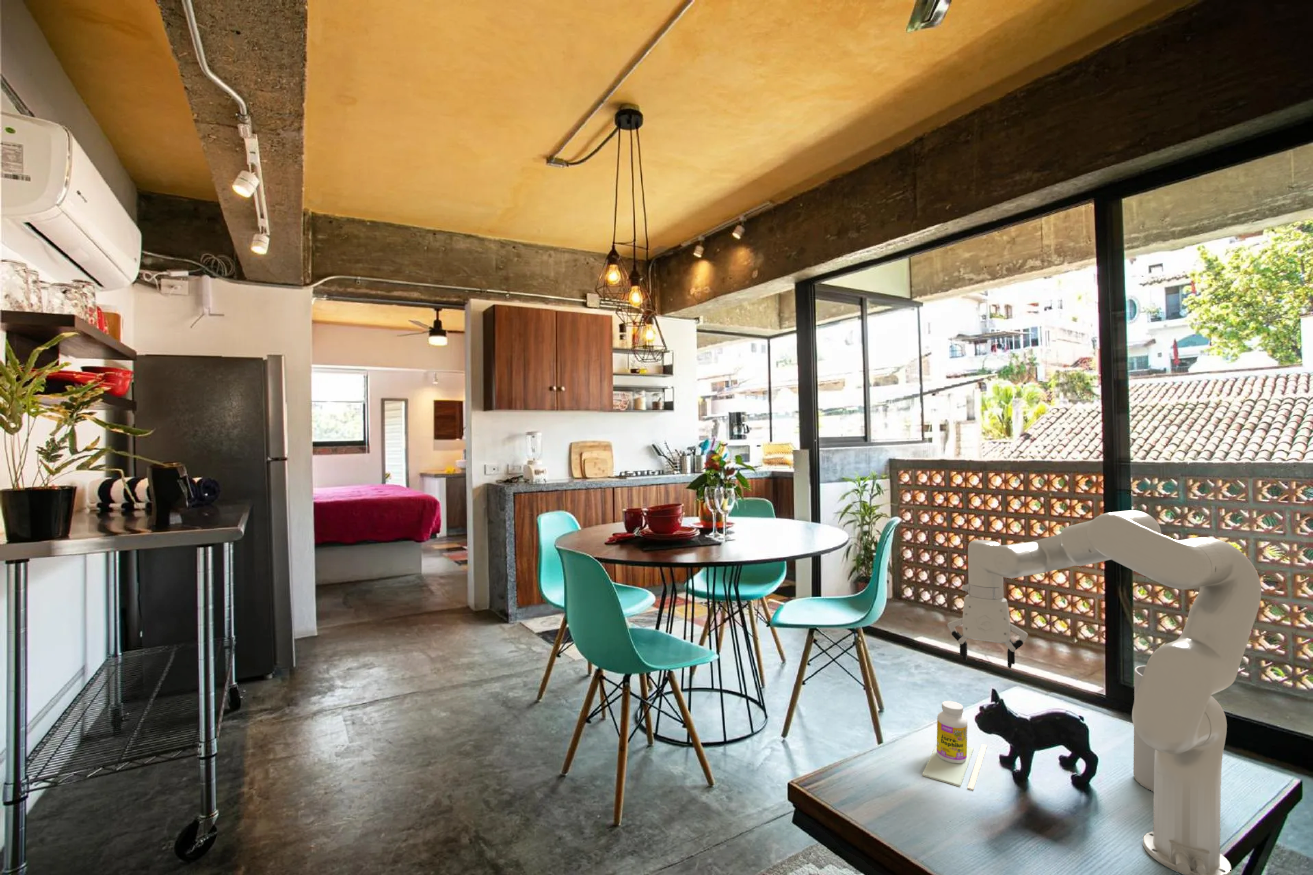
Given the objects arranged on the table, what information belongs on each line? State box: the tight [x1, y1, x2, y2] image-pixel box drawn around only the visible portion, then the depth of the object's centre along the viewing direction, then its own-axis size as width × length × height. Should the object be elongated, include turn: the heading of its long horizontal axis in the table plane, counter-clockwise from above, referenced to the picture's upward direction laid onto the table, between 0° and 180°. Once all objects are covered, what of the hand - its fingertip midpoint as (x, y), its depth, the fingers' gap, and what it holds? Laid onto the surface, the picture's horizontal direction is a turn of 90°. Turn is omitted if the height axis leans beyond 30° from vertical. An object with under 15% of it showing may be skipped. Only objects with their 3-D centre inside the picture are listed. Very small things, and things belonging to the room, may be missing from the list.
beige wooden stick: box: [967, 743, 988, 791], centre depth 149 cm, size 24×1×1 cm, turn 146°
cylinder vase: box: [1133, 664, 1155, 793], centre depth 141 cm, size 12×12×25 cm
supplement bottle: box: [936, 700, 968, 763], centre depth 152 cm, size 7×7×13 cm
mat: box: [922, 743, 974, 788], centre depth 151 cm, size 20×8×1 cm, turn 146°
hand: (987, 662), depth 152 cm, fingers open, 9 cm apart
